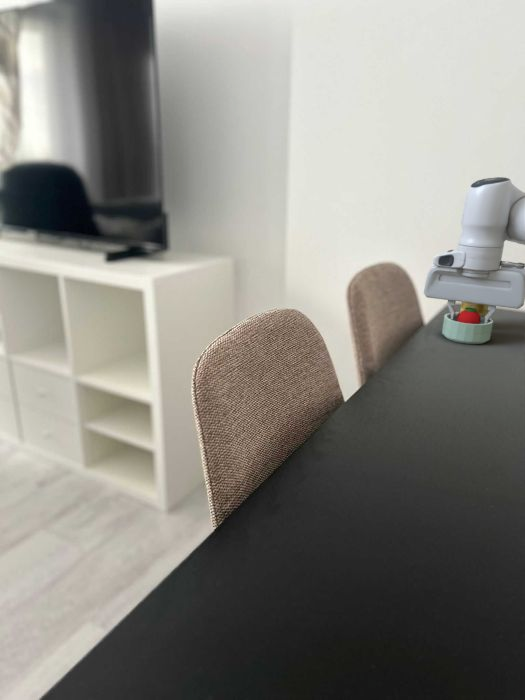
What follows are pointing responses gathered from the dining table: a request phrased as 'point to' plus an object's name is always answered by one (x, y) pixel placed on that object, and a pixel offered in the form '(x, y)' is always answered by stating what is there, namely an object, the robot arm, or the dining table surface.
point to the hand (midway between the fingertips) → (468, 322)
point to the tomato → (469, 316)
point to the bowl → (466, 331)
